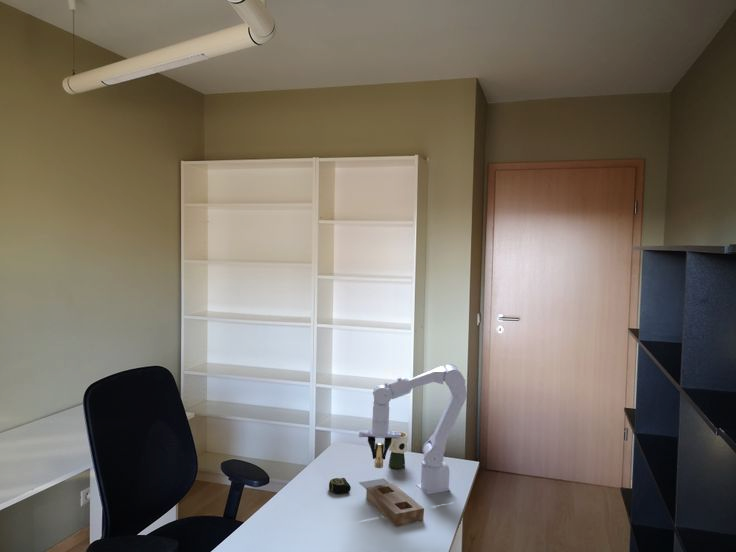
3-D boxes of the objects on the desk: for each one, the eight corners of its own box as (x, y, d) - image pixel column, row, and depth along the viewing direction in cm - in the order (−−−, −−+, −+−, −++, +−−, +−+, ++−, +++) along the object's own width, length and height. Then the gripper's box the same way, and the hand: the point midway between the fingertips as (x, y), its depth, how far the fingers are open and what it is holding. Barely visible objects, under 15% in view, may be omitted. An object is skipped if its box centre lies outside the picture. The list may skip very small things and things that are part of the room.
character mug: (396, 474, 215) (398, 440, 214) (381, 469, 219) (382, 435, 218) (412, 465, 224) (413, 432, 223) (396, 460, 228) (398, 428, 227)
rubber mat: (383, 479, 210) (383, 478, 210) (397, 490, 201) (397, 489, 201) (358, 483, 206) (358, 482, 206) (371, 495, 197) (371, 494, 197)
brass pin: (380, 464, 205) (381, 442, 204) (384, 467, 202) (385, 445, 202) (372, 465, 204) (373, 443, 203) (376, 468, 201) (377, 446, 200)
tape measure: (351, 495, 197) (351, 484, 196) (331, 496, 194) (331, 486, 194) (345, 486, 203) (346, 476, 203) (326, 488, 201) (327, 477, 201)
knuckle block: (392, 494, 198) (392, 482, 198) (423, 520, 180) (423, 508, 180) (366, 499, 194) (366, 487, 193) (395, 526, 176) (395, 513, 175)
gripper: (359, 422, 198) (357, 461, 199) (401, 424, 197) (399, 463, 198) (360, 416, 205) (359, 453, 206) (401, 418, 204) (399, 456, 205)
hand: (379, 458), depth 203 cm, fingers closed on brass pin, 3 cm apart
